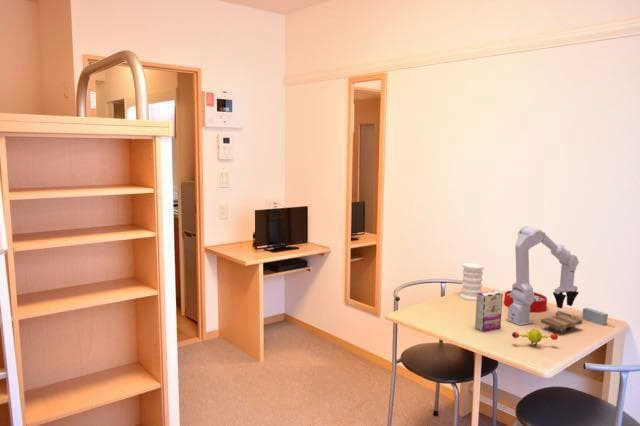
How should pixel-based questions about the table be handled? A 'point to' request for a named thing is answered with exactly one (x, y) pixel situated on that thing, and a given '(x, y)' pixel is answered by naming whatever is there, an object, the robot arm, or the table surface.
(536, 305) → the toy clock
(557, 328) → the roller
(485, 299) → the candy bar box
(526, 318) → the robot arm
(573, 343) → the table surface
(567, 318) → the slab
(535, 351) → the table surface
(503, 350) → the table surface
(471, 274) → the decorative container
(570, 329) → the roller
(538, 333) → the toy figure
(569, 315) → the roller
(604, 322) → the block
